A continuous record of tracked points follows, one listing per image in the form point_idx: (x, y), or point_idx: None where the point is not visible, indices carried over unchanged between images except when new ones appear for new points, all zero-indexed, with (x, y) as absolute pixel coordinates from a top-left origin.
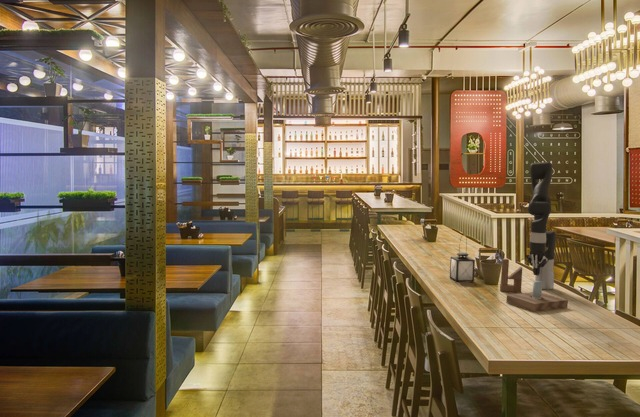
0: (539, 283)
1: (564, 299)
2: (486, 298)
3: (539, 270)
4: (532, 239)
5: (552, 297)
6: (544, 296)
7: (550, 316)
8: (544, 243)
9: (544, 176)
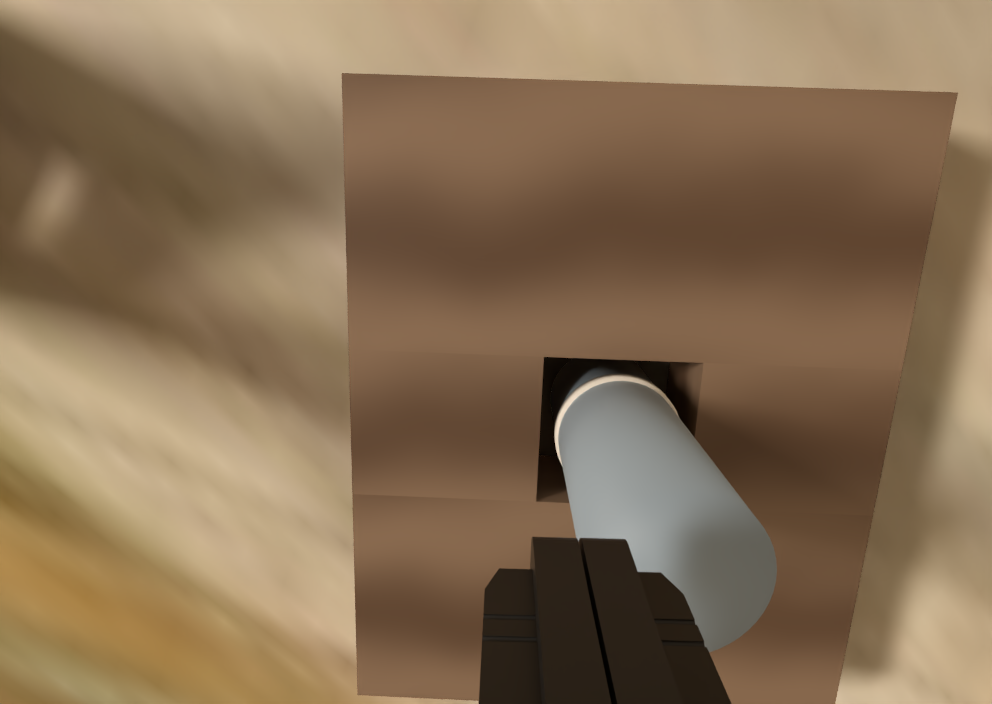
0: (755, 600)
1: (908, 126)
2: (166, 690)
3: (719, 692)
4: None
5: (729, 210)
6: (629, 282)
7: (975, 614)
8: None
9: None
